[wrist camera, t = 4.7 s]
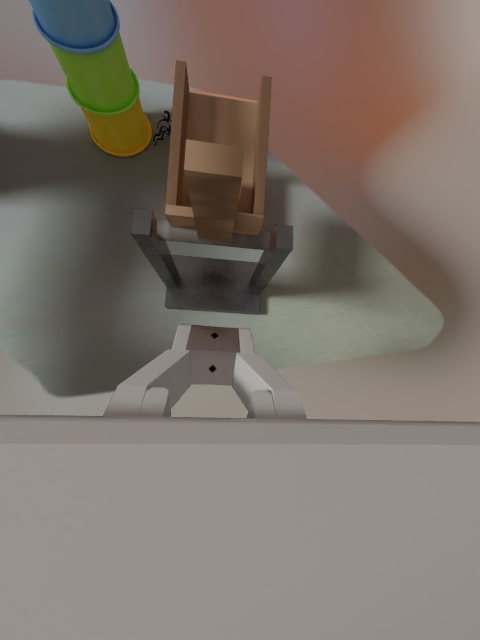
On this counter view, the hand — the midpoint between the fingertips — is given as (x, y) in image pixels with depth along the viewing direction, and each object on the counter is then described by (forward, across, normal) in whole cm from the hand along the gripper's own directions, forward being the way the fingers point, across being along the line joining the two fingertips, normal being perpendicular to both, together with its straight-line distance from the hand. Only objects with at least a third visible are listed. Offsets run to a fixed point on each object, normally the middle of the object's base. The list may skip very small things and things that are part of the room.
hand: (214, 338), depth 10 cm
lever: (+19, 0, +5) cm, 20 cm away
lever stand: (+26, 0, -11) cm, 28 cm away
